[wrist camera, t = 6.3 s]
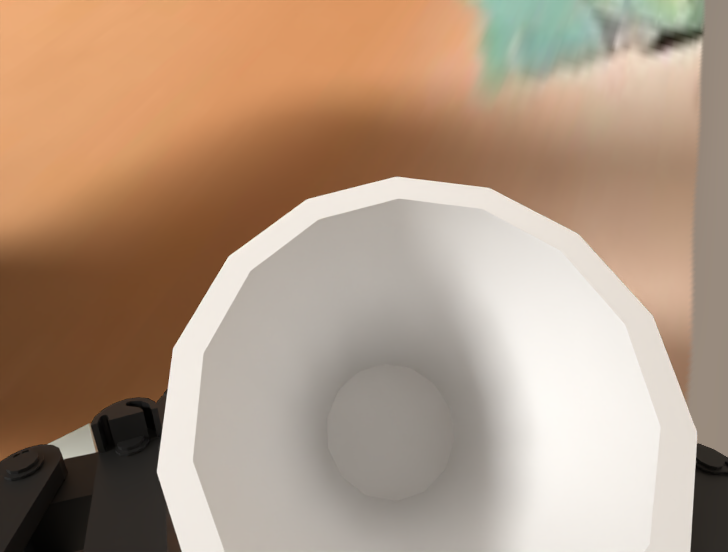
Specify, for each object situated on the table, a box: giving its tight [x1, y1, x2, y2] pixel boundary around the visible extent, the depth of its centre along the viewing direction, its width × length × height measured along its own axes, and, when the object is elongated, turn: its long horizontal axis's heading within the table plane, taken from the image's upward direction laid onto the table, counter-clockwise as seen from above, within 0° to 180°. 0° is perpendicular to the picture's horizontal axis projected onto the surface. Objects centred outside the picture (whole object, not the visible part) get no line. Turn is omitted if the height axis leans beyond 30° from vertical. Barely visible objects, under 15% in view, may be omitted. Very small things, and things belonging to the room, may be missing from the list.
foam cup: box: [157, 177, 697, 552], centre depth 13 cm, size 10×9×13 cm
